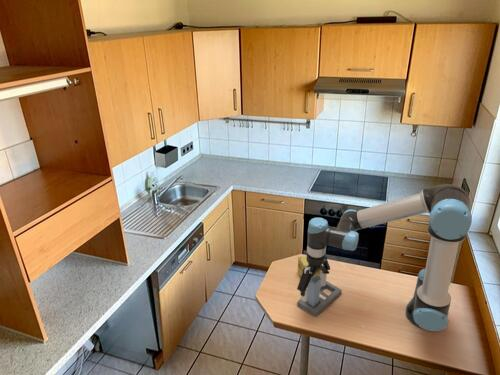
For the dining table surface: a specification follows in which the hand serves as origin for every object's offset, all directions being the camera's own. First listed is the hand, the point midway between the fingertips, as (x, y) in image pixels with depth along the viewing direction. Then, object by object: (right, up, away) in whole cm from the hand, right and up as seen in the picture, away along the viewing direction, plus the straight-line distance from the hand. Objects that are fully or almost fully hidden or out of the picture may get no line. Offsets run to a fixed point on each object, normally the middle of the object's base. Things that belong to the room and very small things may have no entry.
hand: (313, 292), depth 165 cm
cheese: (+2, +2, +21) cm, 22 cm away
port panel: (+4, -5, +7) cm, 10 cm away
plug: (0, -7, +4) cm, 8 cm away
